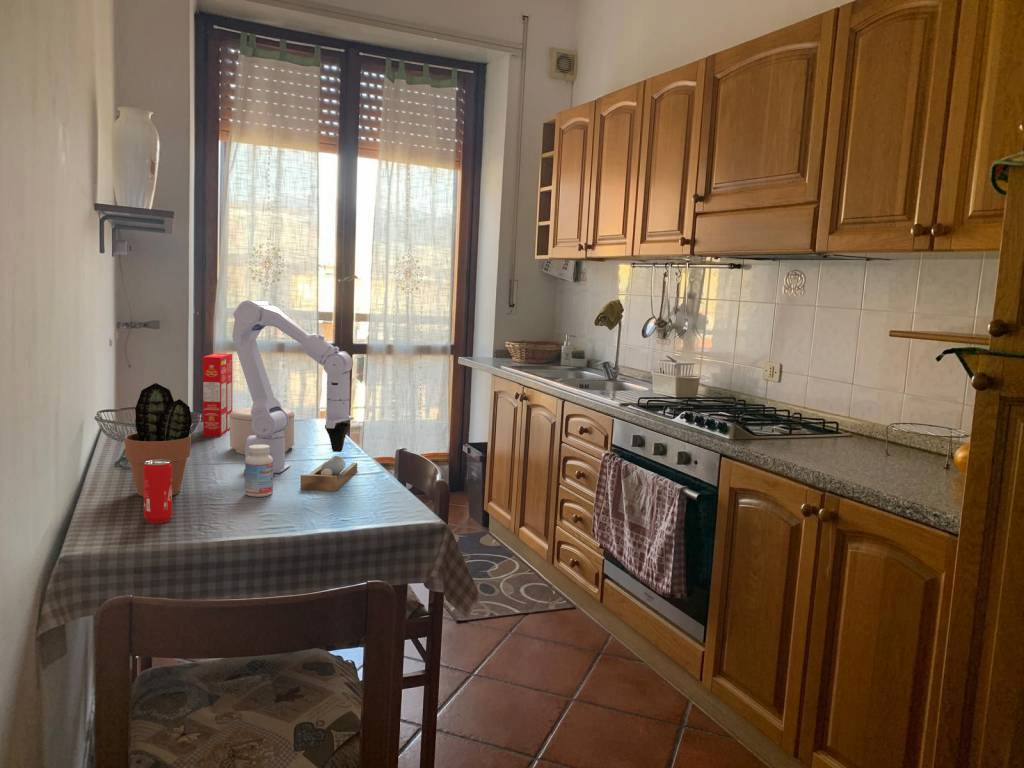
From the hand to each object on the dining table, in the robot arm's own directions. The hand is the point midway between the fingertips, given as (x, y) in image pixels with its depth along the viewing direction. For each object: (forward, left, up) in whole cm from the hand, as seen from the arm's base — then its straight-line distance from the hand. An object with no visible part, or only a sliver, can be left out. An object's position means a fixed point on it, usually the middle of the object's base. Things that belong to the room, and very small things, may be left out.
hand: (337, 451), depth 199 cm
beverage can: (-24, -46, -6) cm, 52 cm away
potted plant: (-34, -26, -6) cm, 43 cm away
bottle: (0, -1, -3) cm, 3 cm away
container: (-29, +25, -6) cm, 39 cm away
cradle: (0, -6, -6) cm, 8 cm away
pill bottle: (-12, -23, -6) cm, 26 cm away
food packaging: (-52, +48, -6) cm, 71 cm away
